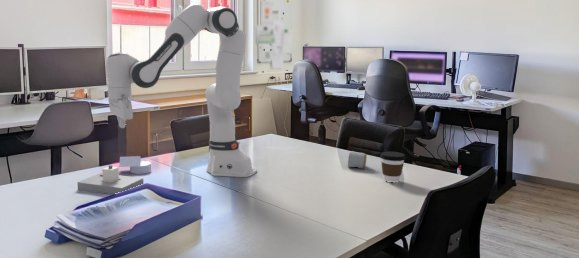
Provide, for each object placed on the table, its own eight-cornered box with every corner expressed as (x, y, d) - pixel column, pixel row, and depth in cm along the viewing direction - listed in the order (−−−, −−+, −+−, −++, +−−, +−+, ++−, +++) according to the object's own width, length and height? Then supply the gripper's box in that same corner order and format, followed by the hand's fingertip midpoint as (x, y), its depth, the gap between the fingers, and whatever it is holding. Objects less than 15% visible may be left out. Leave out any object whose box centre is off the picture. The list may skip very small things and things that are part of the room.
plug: (119, 183, 197) (118, 164, 195) (112, 186, 193) (111, 167, 192) (109, 182, 198) (109, 163, 197) (103, 185, 194) (102, 166, 193)
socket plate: (143, 185, 200) (143, 176, 199) (122, 195, 186) (121, 186, 186) (101, 180, 205) (100, 171, 204) (77, 189, 192) (77, 180, 191)
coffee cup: (404, 185, 208) (406, 158, 206) (378, 183, 210) (379, 156, 208) (403, 178, 219) (405, 152, 216) (378, 176, 221) (380, 150, 218)
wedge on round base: (119, 174, 214) (150, 173, 217) (118, 159, 213) (150, 158, 216) (121, 168, 223) (151, 167, 226) (121, 154, 221) (151, 153, 224)
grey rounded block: (364, 170, 231) (365, 154, 229) (347, 168, 232) (348, 152, 231) (366, 165, 241) (367, 149, 239) (349, 163, 242) (350, 148, 241)
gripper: (135, 95, 192) (137, 131, 194) (120, 90, 208) (122, 122, 211) (119, 97, 188) (121, 132, 191) (105, 91, 205) (107, 124, 207)
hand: (122, 127), depth 201 cm, fingers closed
